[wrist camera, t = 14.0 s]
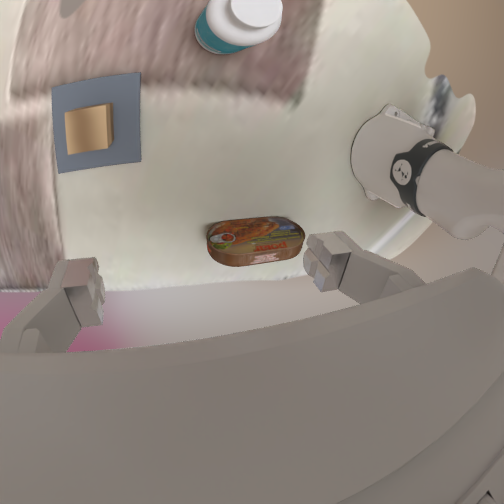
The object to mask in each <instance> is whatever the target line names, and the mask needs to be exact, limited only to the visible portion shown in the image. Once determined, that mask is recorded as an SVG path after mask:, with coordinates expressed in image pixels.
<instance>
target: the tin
mask: <svg viewBox="0 0 504 504" xmlns="http://www.w3.org/2000/svg"><path fill="white" fill-rule="evenodd" d="M206 238H207V249H208V252H209V254H210V256H211V257H212V258H213V259H214V260H215V261H217V262H218V263H221V264H223V265H227V266H232V267H241V266H248V265H255V264H261V263H268V262H274V261H281V260H287V259H291V258H293V257H295V256H297V255H298V254H299V252H300V251H301V248H302V245H303V241H304V239H305V232H304V230H303V229H302V228H301V227H300V226H299V225H298V224H296V223H295V222H293V221H291V220H288V219H285V218H281V217H261V218H250V219H240V220H230V221H223V222H220V223H217V224H215V225H213V226H212V227H211V228H210V229H209V230H208V232H207V235H206Z"/></svg>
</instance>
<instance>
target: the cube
mask: <svg viewBox="0 0 504 504" xmlns="http://www.w3.org/2000/svg"><path fill="white" fill-rule="evenodd" d="M65 128H66V141H67V151H68V155H70V154H75V153H81V152H87V151H93V150H100V149H106V148H108V147H109V146H110V145H111V143H112V142H113V141H114V124H113V102H112V103H105V104H98V105H92V106H87V107H81V108H76V109H73V110H71V111H68V112H65Z"/></svg>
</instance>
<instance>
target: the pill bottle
mask: <svg viewBox="0 0 504 504" xmlns="http://www.w3.org/2000/svg"><path fill="white" fill-rule="evenodd" d="M282 10H283V7H282V2H281V0H210V1H209V2H208V4H207V5H206V7H205V8H204V10H203V11H202V13H201V14H200V16H199V17H198V19H197V21H196V24H195V36H196V39H197V41H198V42H199V44H200V45H201V46H202V47H203V48H204V49H206V50H208V51H210V52H212V53H215V54H231V53H234V52H237V51H240V50H243V49H245V48H248V47H251V46H254V45H257V44H259V43H262V42H264V41H266V40H268V39H269V38H271V37H272V36H273V35H274V34H275V33H276V32H277V30H278V28H279V26H280V24H281V19H282Z"/></svg>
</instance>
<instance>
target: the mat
mask: <svg viewBox="0 0 504 504" xmlns="http://www.w3.org/2000/svg"><path fill="white" fill-rule="evenodd" d="M140 80H141V72H140V73H130V74H121V75H114V76H107V77H100V78H94V79H89V80H84V81H79V82H74V83H69V84H65V85H61V86H57V87H53V88H52V116H53V131H54V142H55V151H56V159H57V166H58V173H59V174H60V173H65V172H71V171H76V170H82V169H89V168H95V167H102V166H109V165H117V164H125V163H134V162H141V144H140ZM112 102H113V124H114V141H113V142H112V143H111V145H110V146H109V147H108V148H106V149H100V150H93V151H87V152H81V153H75V154H70V155H68V151H67V141H66V128H65V112H68V111H71V110H73V109H76V108H81V107H87V106H92V105H98V104H105V103H112Z"/></svg>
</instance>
